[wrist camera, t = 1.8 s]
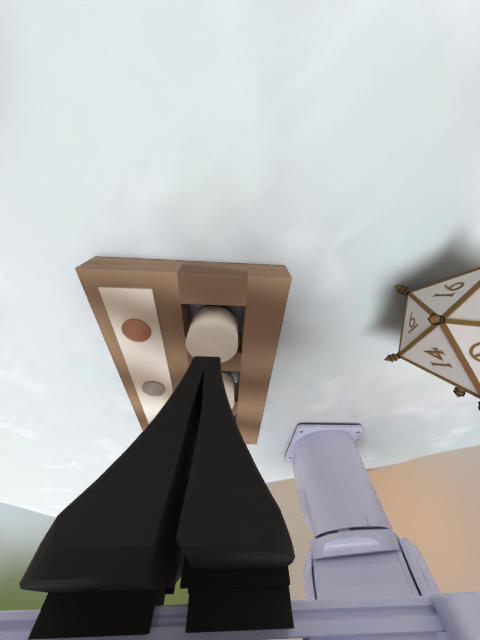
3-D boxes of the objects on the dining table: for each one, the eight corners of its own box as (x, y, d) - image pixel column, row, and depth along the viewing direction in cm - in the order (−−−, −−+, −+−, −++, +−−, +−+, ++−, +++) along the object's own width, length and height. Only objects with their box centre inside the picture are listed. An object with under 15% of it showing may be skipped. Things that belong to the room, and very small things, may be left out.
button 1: (236, 344, 15) (236, 364, 14) (193, 343, 15) (188, 363, 13) (238, 307, 13) (239, 325, 12) (189, 305, 13) (182, 323, 12)
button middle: (233, 393, 19) (233, 415, 17) (198, 393, 18) (194, 414, 17) (235, 369, 17) (234, 390, 15) (195, 369, 17) (191, 389, 15)
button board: (255, 426, 25) (256, 447, 23) (153, 425, 24) (146, 447, 22) (284, 265, 13) (292, 280, 11) (95, 256, 13) (70, 270, 11)
